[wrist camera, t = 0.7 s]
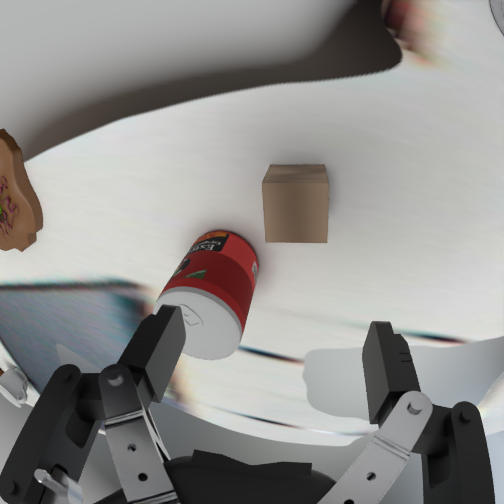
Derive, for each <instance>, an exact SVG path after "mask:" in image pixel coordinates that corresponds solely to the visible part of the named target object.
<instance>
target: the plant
mask: <svg viewBox="0 0 504 504" xmlns="http://www.w3.org/2000/svg"><path fill="white" fill-rule="evenodd" d="M23 163H24V161H23V155H22V150H21V148H20V147H19V146H18V145H17V143H16V141H15V140H14V138H13V137H12V136H11V135H9V134H8V132H7V131H6V130H5V129H0V249H1V250H4V251H7V250H10V249H13V248H16V249H18V250H20V251H21V252H23V251H24V250H25V249H26V248H28V247H29V246H30V245H32V244H33V243H34V242H35V241H36V232H38V231H39V230H40V229H42V227H43V215H42V209H41V205H40V202H39V200H38V198H37V196H36V193H35V192H34V190H33V188H32V186H31V184H30V181H29V179H28V176H27V173H26V170H25V167H24V164H23Z"/></svg>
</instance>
